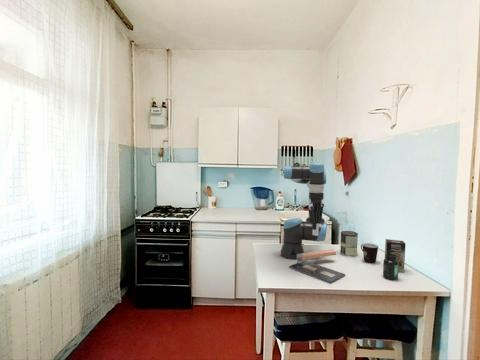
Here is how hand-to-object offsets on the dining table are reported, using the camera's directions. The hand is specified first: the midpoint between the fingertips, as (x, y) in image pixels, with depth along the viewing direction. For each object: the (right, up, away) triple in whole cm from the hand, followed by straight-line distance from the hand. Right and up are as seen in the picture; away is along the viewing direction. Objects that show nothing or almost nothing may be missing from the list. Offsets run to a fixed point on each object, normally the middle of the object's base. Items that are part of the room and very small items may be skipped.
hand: (315, 235), depth 146 cm
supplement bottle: (+37, -21, -7) cm, 43 cm away
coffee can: (+30, -19, +29) cm, 45 cm away
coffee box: (+45, -20, +3) cm, 49 cm away
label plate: (0, -20, 0) cm, 20 cm away
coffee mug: (+37, -19, +17) cm, 45 cm away
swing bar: (+4, -15, +12) cm, 20 cm away
